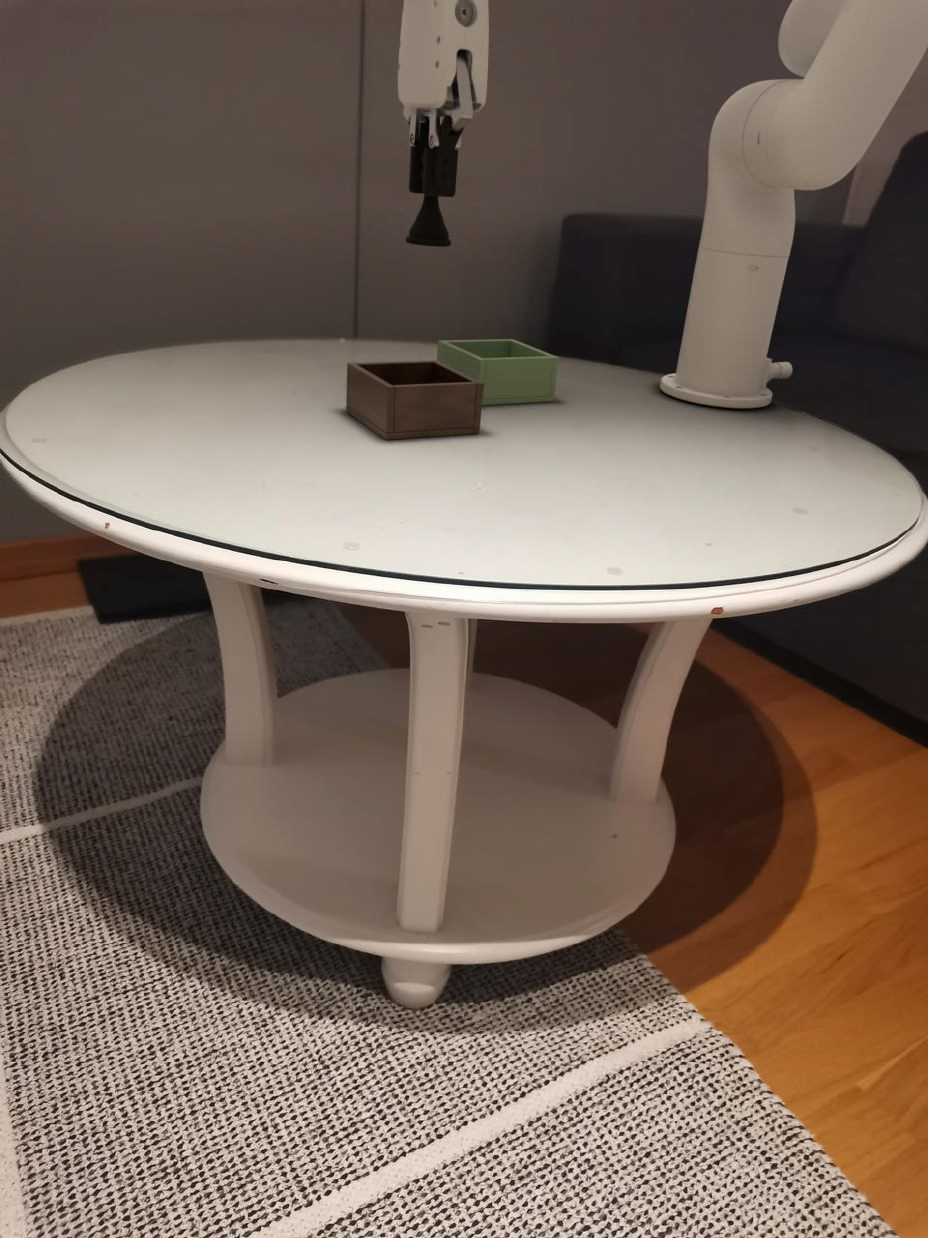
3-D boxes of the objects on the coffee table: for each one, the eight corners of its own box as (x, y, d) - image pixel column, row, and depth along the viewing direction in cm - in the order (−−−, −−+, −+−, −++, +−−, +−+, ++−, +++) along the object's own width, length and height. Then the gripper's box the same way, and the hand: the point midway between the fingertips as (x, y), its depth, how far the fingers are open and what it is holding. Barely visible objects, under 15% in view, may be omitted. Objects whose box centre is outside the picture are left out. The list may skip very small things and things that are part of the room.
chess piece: (401, 243, 90) (407, 125, 86) (410, 239, 94) (416, 127, 89) (447, 248, 90) (455, 130, 85) (453, 244, 94) (461, 131, 89)
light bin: (508, 380, 107) (512, 338, 105) (553, 401, 100) (559, 357, 98) (434, 383, 103) (437, 340, 100) (476, 405, 95) (480, 359, 93)
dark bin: (434, 406, 94) (437, 359, 92) (479, 433, 86) (484, 383, 84) (345, 411, 89) (346, 362, 87) (385, 439, 82) (388, 387, 80)
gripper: (528, -41, 77) (506, 204, 85) (443, -22, 89) (431, 190, 98) (446, -57, 74) (431, 200, 82) (370, -35, 86) (364, 185, 95)
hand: (431, 192), depth 90 cm, fingers closed on chess piece, 2 cm apart
